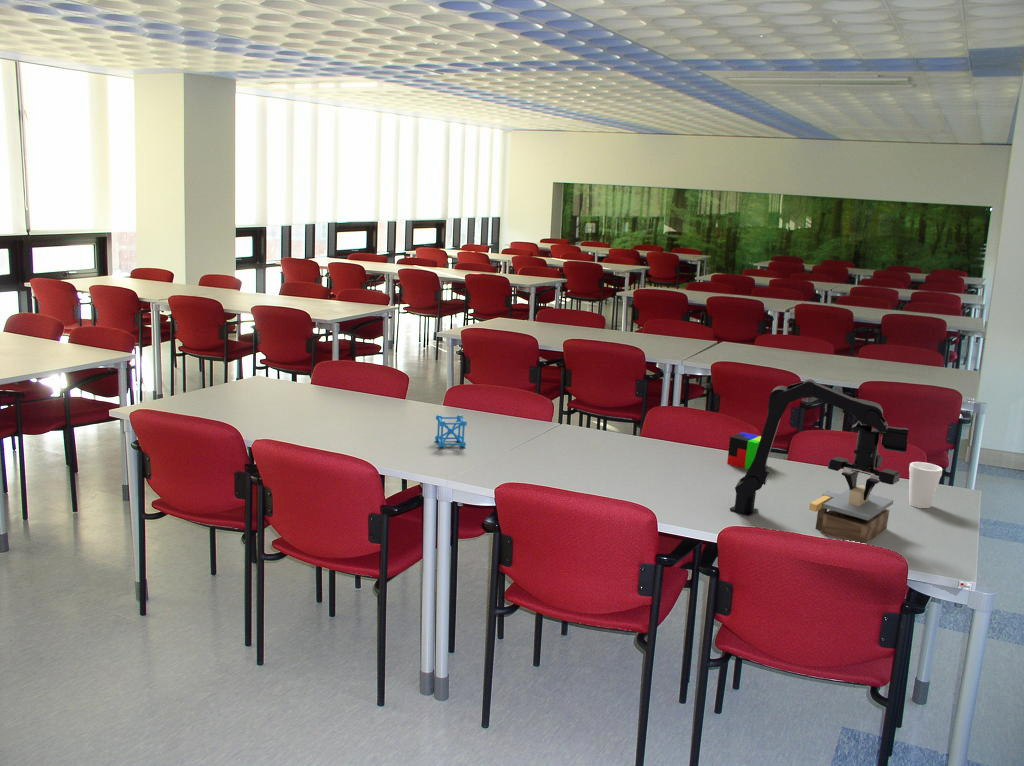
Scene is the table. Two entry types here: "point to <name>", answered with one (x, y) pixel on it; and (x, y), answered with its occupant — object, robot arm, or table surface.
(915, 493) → the foam cup
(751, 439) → the puzzle toy
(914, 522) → the table surface
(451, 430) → the molecular structure
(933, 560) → the table surface
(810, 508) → the yellow wooden bar
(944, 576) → the table surface
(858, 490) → the lid
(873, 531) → the brown wooden box
